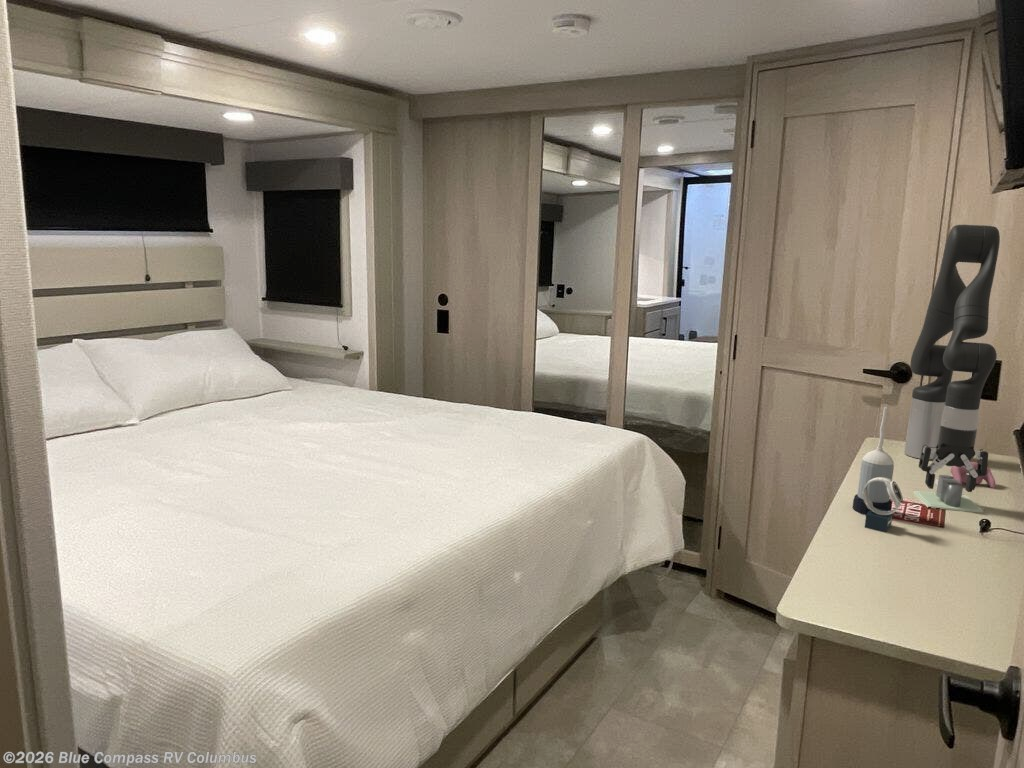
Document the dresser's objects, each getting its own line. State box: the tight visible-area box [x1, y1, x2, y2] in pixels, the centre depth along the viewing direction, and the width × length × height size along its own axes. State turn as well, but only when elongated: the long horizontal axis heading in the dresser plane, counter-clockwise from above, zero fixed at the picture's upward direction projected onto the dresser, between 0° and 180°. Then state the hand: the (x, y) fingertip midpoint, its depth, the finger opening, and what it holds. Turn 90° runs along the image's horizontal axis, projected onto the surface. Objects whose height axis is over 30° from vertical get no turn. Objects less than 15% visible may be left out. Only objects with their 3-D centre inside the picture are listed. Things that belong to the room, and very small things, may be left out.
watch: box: [862, 477, 904, 533], centre depth 163 cm, size 6×8×11 cm
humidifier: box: [852, 406, 895, 516], centre depth 171 cm, size 8×8×25 cm
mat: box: [913, 490, 985, 514], centre depth 180 cm, size 11×12×1 cm
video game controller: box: [950, 461, 996, 489], centre depth 194 cm, size 10×5×7 cm, turn 85°
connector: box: [934, 474, 964, 507], centre depth 181 cm, size 11×3×5 cm, turn 168°
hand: (949, 489), depth 180 cm, fingers open, 8 cm apart
